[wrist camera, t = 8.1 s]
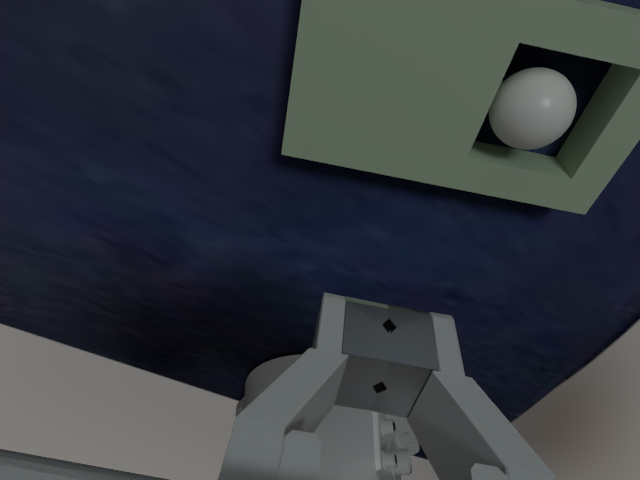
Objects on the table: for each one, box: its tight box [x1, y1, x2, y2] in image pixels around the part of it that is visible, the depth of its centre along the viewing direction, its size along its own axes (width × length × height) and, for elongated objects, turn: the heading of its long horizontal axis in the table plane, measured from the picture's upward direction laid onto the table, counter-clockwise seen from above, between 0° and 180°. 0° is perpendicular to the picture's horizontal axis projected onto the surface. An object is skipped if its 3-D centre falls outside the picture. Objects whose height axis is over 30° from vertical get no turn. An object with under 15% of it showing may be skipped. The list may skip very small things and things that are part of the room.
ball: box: [489, 67, 577, 149], centre depth 22 cm, size 4×4×4 cm
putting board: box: [281, 0, 640, 214], centre depth 22 cm, size 18×10×2 cm, turn 80°
